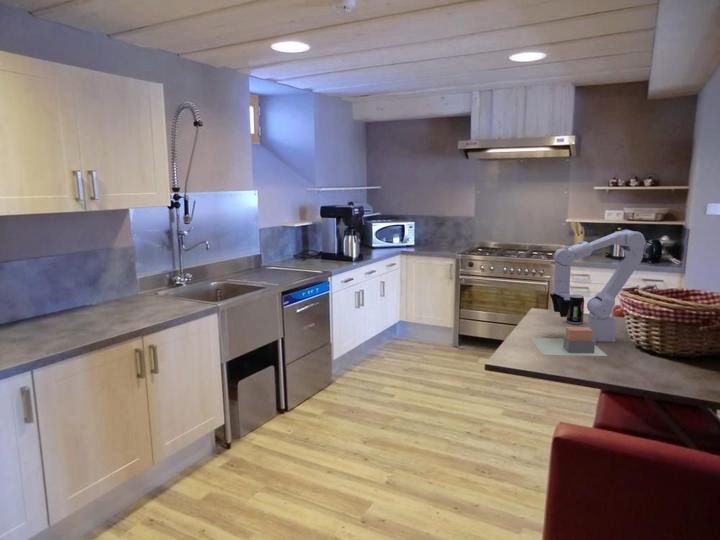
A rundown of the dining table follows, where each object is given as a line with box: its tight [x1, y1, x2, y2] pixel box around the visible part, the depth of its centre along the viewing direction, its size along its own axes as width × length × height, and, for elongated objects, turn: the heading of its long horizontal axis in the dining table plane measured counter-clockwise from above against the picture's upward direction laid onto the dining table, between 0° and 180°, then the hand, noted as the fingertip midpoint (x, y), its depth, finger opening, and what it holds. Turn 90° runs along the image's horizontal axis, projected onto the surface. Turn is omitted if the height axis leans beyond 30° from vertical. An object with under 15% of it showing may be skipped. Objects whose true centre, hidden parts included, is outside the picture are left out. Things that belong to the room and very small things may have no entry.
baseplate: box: [529, 337, 608, 357], centre depth 189 cm, size 22×20×1 cm
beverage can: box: [566, 294, 585, 325], centre depth 221 cm, size 7×7×12 cm
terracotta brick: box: [564, 326, 593, 341], centre depth 184 cm, size 8×4×4 cm, turn 85°
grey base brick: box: [563, 336, 596, 353], centre depth 184 cm, size 9×6×4 cm, turn 85°
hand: (560, 314), depth 198 cm, fingers open, 7 cm apart
